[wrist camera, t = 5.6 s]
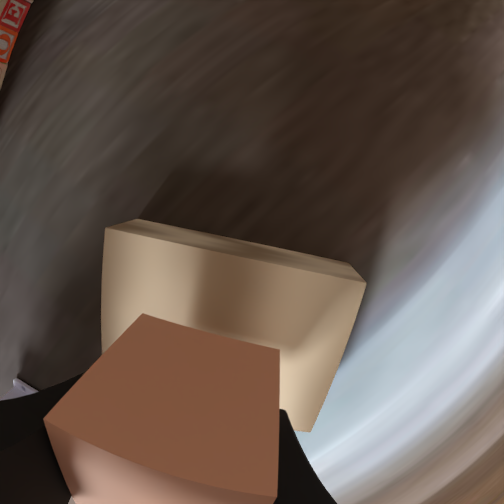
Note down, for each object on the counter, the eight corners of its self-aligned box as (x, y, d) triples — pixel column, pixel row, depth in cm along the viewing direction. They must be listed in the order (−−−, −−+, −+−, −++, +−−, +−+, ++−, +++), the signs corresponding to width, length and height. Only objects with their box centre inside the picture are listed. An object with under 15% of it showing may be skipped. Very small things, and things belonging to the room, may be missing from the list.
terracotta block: (137, 409, 12) (79, 510, 6) (142, 313, 10) (43, 418, 5) (248, 440, 11) (231, 559, 6) (279, 349, 10) (277, 496, 4)
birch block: (130, 350, 19) (103, 382, 15) (139, 218, 17) (105, 227, 13) (305, 391, 19) (310, 432, 15) (347, 261, 17) (366, 283, 13)
